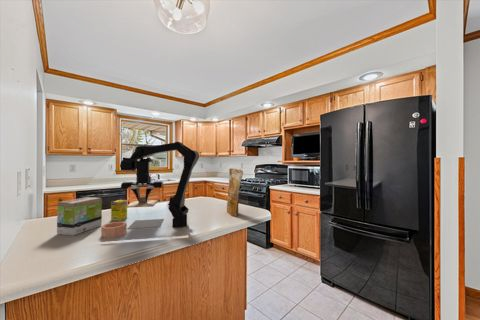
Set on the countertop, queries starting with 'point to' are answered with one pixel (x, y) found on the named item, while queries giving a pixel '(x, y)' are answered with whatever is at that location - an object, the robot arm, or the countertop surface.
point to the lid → (142, 203)
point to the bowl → (113, 229)
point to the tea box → (79, 215)
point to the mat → (146, 224)
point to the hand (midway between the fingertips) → (142, 201)
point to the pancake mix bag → (233, 191)
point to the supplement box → (118, 210)
